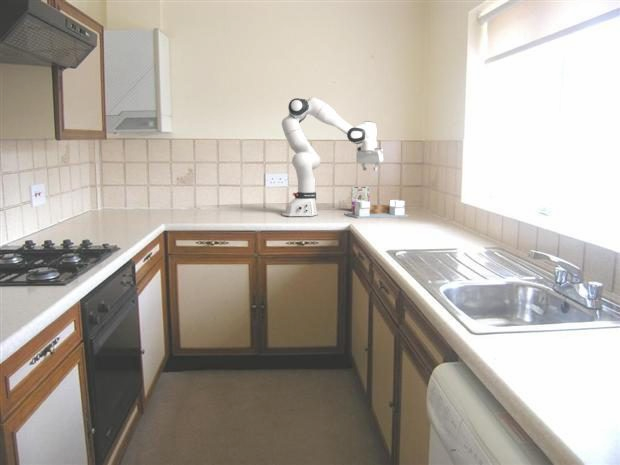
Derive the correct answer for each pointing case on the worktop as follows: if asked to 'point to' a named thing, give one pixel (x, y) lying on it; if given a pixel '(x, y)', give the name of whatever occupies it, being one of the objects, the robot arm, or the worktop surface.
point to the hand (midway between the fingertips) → (369, 170)
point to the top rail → (377, 209)
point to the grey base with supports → (363, 212)
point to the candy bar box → (360, 194)
